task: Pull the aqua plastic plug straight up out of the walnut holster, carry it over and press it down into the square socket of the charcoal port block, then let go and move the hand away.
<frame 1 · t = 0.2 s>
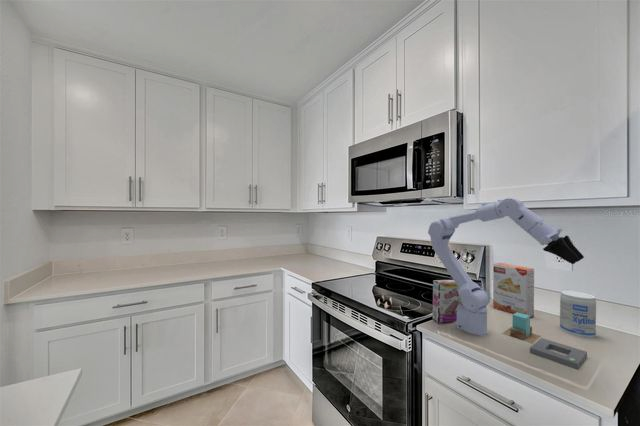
hand: (578, 260, 76), 31 cm above the countertop, tool tilted 45°, fingers open, 7 cm apart
supplement tub: (577, 334, 98), on the countertop
plug: (521, 334, 95), point 1 cm above the countertop, touching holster
port: (558, 357, 82), on the countertop
candy bar box: (448, 321, 110), on the countertop
cracker box: (512, 312, 119), on the countertop
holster: (521, 337, 95), on the countertop
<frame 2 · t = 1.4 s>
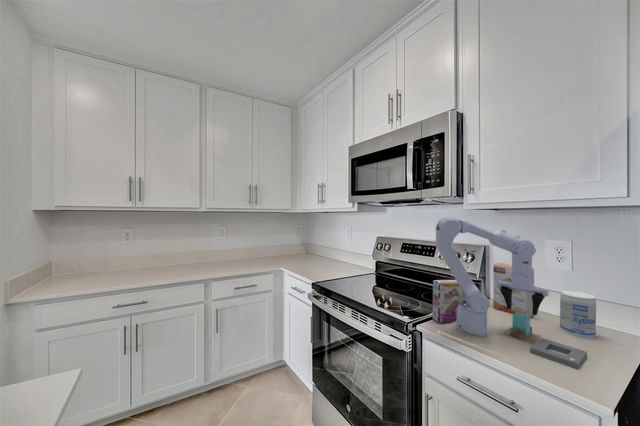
hand: (521, 311, 95), 9 cm above the countertop, tool pointing down, fingers open, 7 cm apart
nothing on the countertop moved.
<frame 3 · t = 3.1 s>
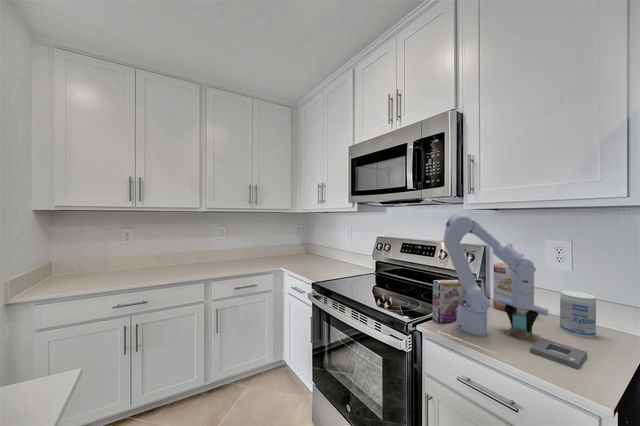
hand: (521, 329, 95), 3 cm above the countertop, tool pointing down, fingers closed on plug, 4 cm apart
plug: (521, 334, 95), point 1 cm above the countertop, touching gripper, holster
everything else where it was.
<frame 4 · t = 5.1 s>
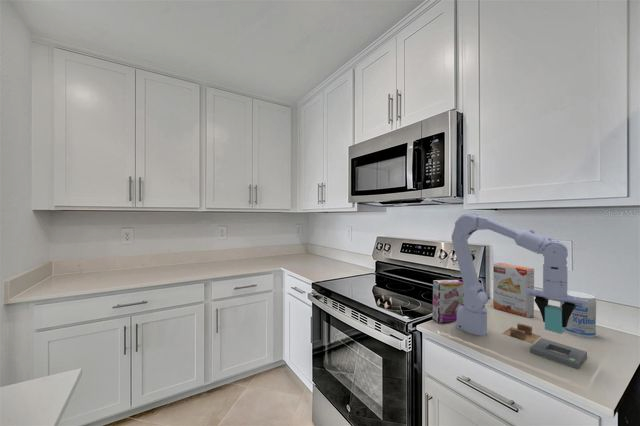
hand: (554, 323, 83), 10 cm above the countertop, tool pointing down, fingers closed on plug, 4 cm apart
plug: (554, 330, 83), point 8 cm above the countertop, touching gripper
everything else where it was.
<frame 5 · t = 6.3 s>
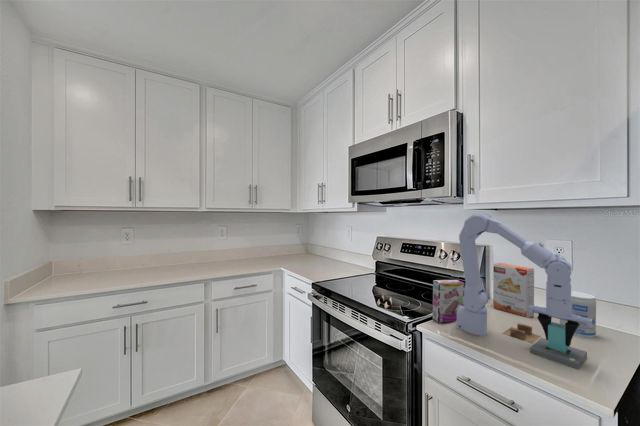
hand: (558, 342, 82), 5 cm above the countertop, tool pointing down, fingers closed on plug, 4 cm apart
plug: (558, 348, 82), point 3 cm above the countertop, touching gripper
everything else where it was.
when the fingers open (3 cm above the countertop, at t = 7.0 s): plug drops 2 cm, resting in port.
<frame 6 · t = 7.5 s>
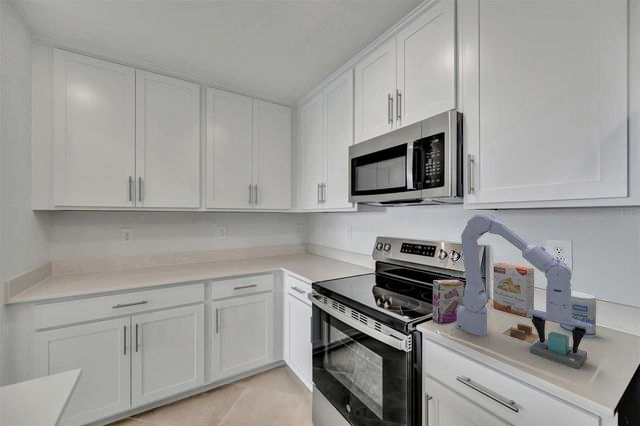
hand: (558, 346, 82), 3 cm above the countertop, tool pointing down, fingers open, 7 cm apart
plug: (558, 357, 82), resting in port
everything else where it was.
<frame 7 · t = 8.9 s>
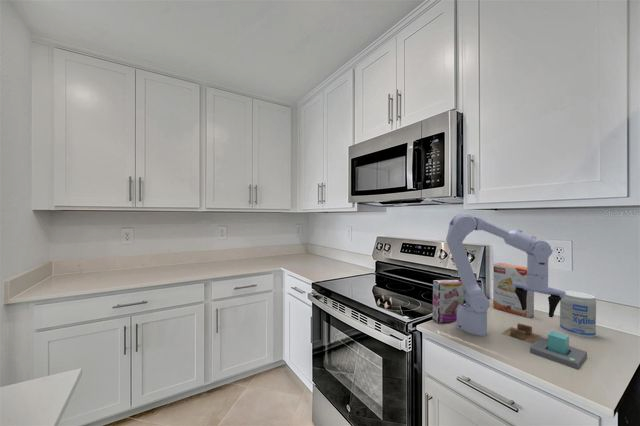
hand: (537, 313, 94), 9 cm above the countertop, tool pointing down, fingers open, 7 cm apart
nothing on the countertop moved.
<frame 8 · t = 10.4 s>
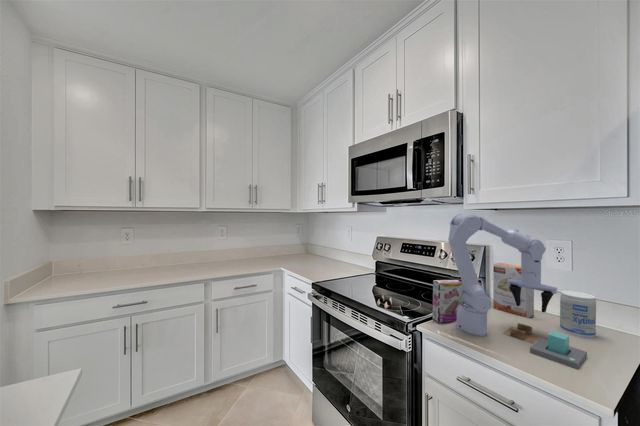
hand: (530, 308, 98), 9 cm above the countertop, tool pointing down, fingers open, 7 cm apart
nothing on the countertop moved.
at the end: plug 0.1 cm off-centre on the port, point 0.0 cm above the port's base; plug tilted 0°; the gripper is holding nothing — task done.
